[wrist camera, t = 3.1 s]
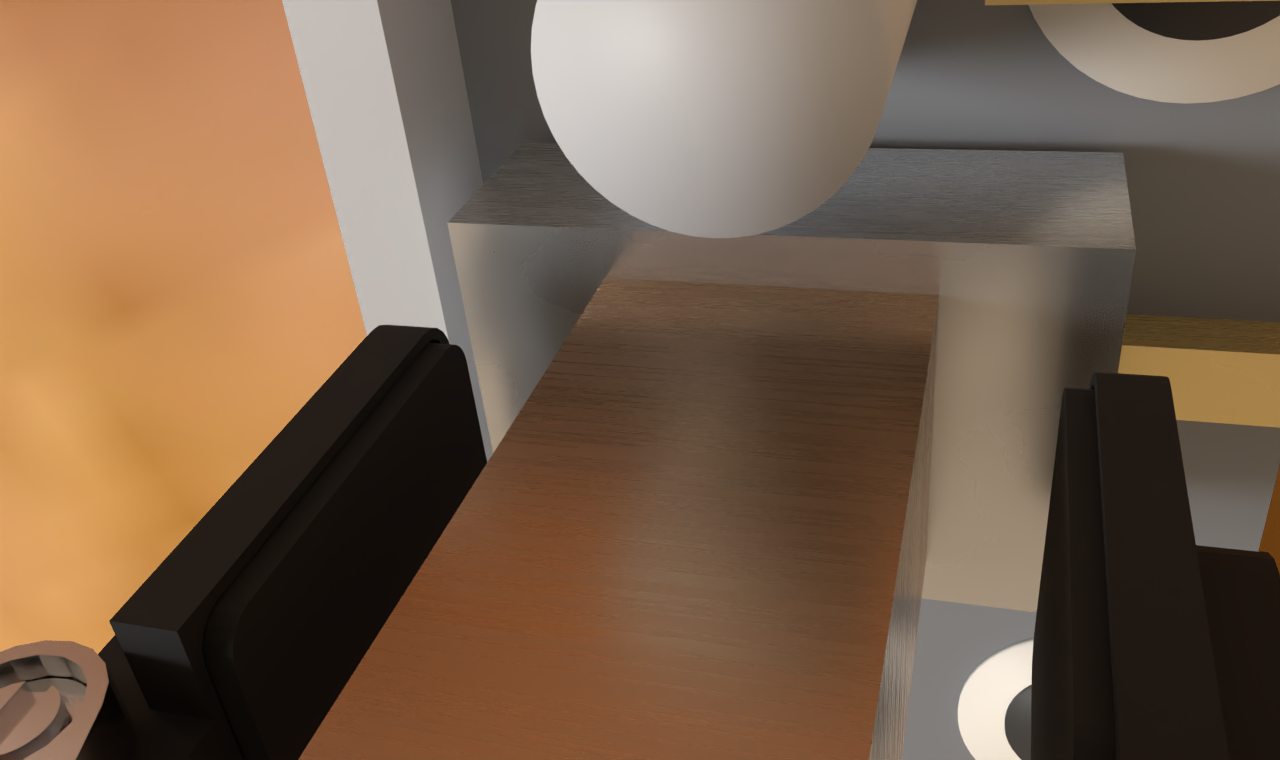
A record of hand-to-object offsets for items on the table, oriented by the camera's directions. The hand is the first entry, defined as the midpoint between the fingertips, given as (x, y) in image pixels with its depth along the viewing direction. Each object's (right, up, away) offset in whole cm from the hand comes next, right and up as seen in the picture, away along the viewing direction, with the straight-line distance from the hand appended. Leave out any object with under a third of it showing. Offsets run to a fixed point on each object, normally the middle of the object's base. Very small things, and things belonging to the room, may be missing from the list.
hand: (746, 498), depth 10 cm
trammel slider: (+2, +2, +2) cm, 3 cm away
